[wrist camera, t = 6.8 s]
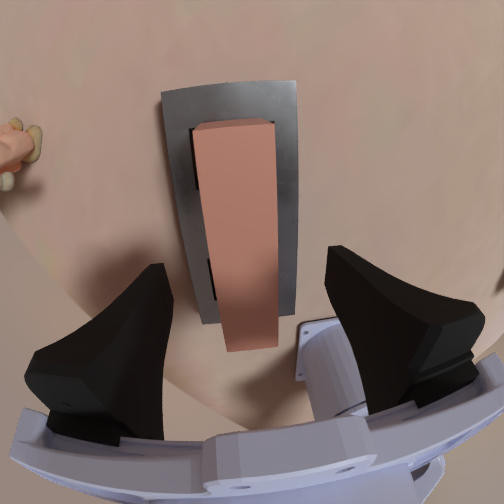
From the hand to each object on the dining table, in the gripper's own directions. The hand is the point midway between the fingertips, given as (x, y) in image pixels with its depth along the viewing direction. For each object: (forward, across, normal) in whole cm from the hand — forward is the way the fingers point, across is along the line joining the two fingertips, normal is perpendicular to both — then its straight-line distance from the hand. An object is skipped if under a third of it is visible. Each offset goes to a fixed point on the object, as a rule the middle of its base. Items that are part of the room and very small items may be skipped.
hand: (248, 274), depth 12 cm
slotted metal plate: (+7, 0, 0) cm, 7 cm away
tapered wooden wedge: (+7, 0, 0) cm, 7 cm away
